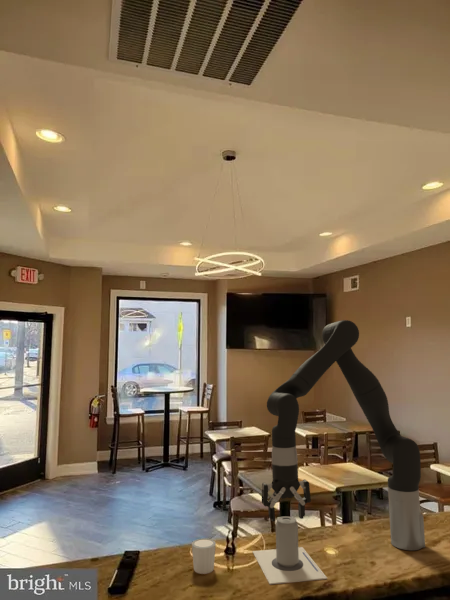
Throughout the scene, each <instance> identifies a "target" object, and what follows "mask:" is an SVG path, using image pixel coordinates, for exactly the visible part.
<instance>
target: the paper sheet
mask: <svg viewBox="0 0 450 600" xmlns="http://www.w3.org/2000/svg"><path fill="white" fill-rule="evenodd" d="M298 552H299V562H298V563H297V564H296V565H295V566H293V567H284V566H282V565H280V564H279V563H278V562H277V560H276V548H274V549H273V548H272V549H264V550H261V549H260V550H252V554H253V556H254V558H255V559H256V561H257V563H258V566H259V567H260V569H261V571H262V572H263V575H264V577H265V578H266V581H267V583H268V584H269V585H277V584H288V583H289V584H290V583H298V582H299V583H301V582H310V581H311V582H312V581H319V580H320V581H321V580H328V576H327V575H325V573H324V572H323V571H322V569H321V568H320V567H319V565H318V564H317V563H316V562H315V561H314V559H312V557H311V556H310V554H309V553H308V552H307V551H306V549H305V548H304V547H303V546H298Z"/></svg>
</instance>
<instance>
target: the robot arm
mask: <svg viewBox="0 0 450 600" xmlns="http://www.w3.org/2000/svg"><path fill="white" fill-rule="evenodd" d="M321 333H322V335H321V336H322V337H321V338H322V341H323V343H324V345H323V346H322V347H320V349H318V350H317V352H315V353H314V354H312V355H311V356H310V357H308V359H306V360H305V361H304V362H303V363H302V364H300V366H299V367H298V368H297V369H296V370H295V371H294V372H293V374H292V375H291V376H290V377H289V378H288V379H287V380H285V382H283V383H282V384H281V385H279V386H278V387H277V388H275V389H274V390H273V391H272V392H271V393H270V395H269V396H268V398H267V402H266V409H267V411H268V412H269V414H271V415H273V416H276V417H277V424H276V425H274V426H273V427H272V429H271V444H272V446H271V447H272V448H271V469H272V470H271V471H272V473H271V474H272V475H271V476H272V477H271V478H272V482H271V483H266V482H262V484H261V504H263V507H267V508H268V512H267V513H268V518H269V519H270V521H271V522H275V521H276V513H275V512H276V510H275V509H276V508H275V506H276V504H277V503H278V502H279V501H280V498H281V500H283V499H293V497H294V498H295V500H297V502H298V503H297V510H298V511H297V512H298V518H299V519H300V520H303V519H304V517H305V516H306V510H305V509H306V506H305V505H306V504H308V503H311V502H312V497H311V487H310V482H309V481H308V480H307V479H302V480H301V481H299V466H298V462H299V461H298V451H297V440H296V429H297V426H298V420H299V415H300V413H299V412H300V405H299V402H298V398H301V397H304V396H306V395H307V394H308V393H309V392H310V391H311V390H312V389H313V387H314V386H315V385H316V384H317V382H318V381H319V380H320V379H321V378H322V377H323V375H324V374H326V372H327V371H328V370H329V369H330V368H331V366H333V364H335V363H336V364H337V365H338V367H339V369H340V370H341V373H342V374H343V376H344V378H345V380H346V382H347V384H348V385H349V388H350V389H351V392H352V393H353V396H354V397H355V400H356V401H357V403H358V405H359V407H360V408H361V410H362V412H363V414H364V416H365V418H366V420H367V422H368V423H369V425H370V428H372V431H373V432H374V436H375V438H376V441H377V443H378V446H379V448H380V450H381V453H382V454H383V456H384V458H385V459H386V460H387V461H388V462H389V463H392V465H393V466H392V470H393V472H392V475H390V476H388V478H387V497H388V511H389V513H388V514H389V530H390V531H389V532H390V536H389V537H390V544H391V545H392V546H393V547H395V548H398V549H400V550H405V551H419V550H421V549H422V548H426V539H425V537H426V536H425V523H424V522H425V521H424V515H423V514H422V513H421V505H420V504H421V503H420V489H419V488H420V487H419V485H420V482H421V477H422V476H421V475H422V473H421V471H422V470H421V469H422V468H421V462H422V461H421V460H422V459H421V451H420V448H419V445H418V444H417V442H415V441H414V440H413V439H411V438H408V437H405V436H403V435H401V434H400V432H399V431H398V429H397V428H396V425H395V423H394V422H393V420H392V418H391V414H390V408H389V407H390V406H389V401H388V397H387V394H386V392H385V390H384V388H383V386H382V385H381V382H380V380H379V379H378V378H377V376H376V375H375V374H374V373H373V372H372V371H371V370H370V369H369V368H368V367H367V366H366V365H365V364H364V363H362V362H361V361H360V360H359V359H358V357H357V356H356V354H355V353H354V351H353V349H352V348H353V347H354V346H355V345H356V344H357V343H358V341H359V337H360V330H359V327H358V326H357V324H356V323H355V322H353V320H349V319H343V320H337V321H335V322H331V323H328V324H327V325H326V326H324V328H323V329H322V332H321ZM300 488H301V489H302V490H303V491H302V492H303V497H302V496H301V495H300V493H299V492H298V490H299V489H300ZM271 489H272V490H273V492H272V494H271V496H270V498H269V492H270V491H271Z"/></svg>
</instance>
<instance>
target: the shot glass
mask: <svg viewBox="0 0 450 600" xmlns="http://www.w3.org/2000/svg"><path fill="white" fill-rule="evenodd" d="M216 544H217V543H216V541H215V540H214V539H211V538H198V539H195V540H193V541H192V542H191V552H192V561H193V562H192V563H193V571H194V572H195V573H196V574H199V575H200V574H201V575H203V574H204V575H205V574H210V573H212V572H213V571H214V569H215V556H216V546H217V545H216Z"/></svg>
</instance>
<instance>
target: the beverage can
mask: <svg viewBox="0 0 450 600" xmlns="http://www.w3.org/2000/svg"><path fill="white" fill-rule="evenodd" d="M298 526H299V525H298V523H297V519H296V518H295V517H292V516H289V515H288V516H286V515H285V516H279V517H278V518H277V519H276V522H275V549H276V560H277V562H278V563H279V564H280V565H282V566H284V567H293V566H295V565H296V564H297V563H298V562H299V552H298V547H299V527H298Z"/></svg>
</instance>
